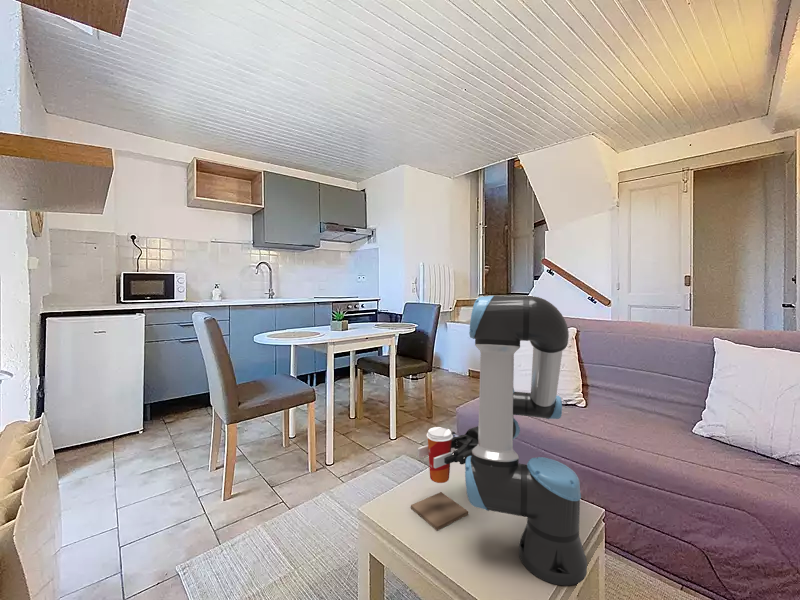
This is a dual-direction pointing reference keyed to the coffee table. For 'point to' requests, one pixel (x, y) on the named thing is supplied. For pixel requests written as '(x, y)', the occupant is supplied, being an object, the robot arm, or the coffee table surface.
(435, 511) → the walnut pad
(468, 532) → the coffee table surface
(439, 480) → the paper cup
